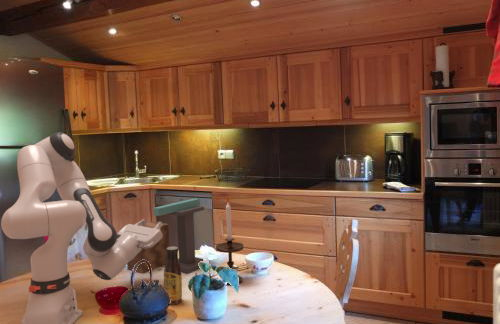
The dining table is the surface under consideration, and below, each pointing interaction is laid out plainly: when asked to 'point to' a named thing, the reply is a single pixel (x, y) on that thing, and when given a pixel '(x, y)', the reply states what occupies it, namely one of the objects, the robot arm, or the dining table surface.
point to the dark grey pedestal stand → (187, 239)
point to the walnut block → (152, 251)
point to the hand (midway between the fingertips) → (153, 221)
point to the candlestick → (230, 241)
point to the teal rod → (176, 206)
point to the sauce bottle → (173, 276)
